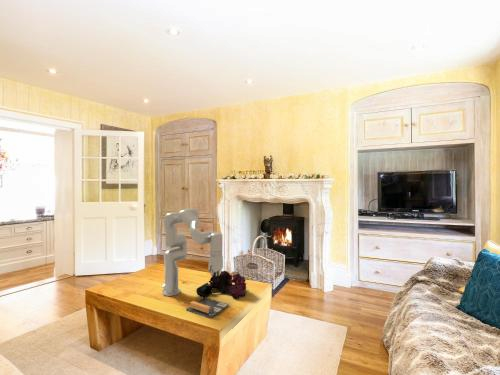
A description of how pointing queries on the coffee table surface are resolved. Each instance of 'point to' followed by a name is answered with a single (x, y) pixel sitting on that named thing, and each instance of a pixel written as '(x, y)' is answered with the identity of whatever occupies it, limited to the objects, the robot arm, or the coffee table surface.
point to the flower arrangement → (229, 284)
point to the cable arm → (202, 307)
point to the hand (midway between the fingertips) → (216, 281)
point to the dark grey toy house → (204, 290)
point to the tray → (217, 306)
